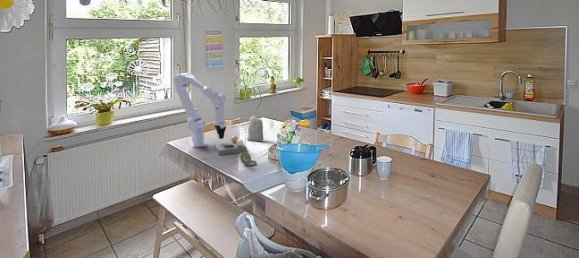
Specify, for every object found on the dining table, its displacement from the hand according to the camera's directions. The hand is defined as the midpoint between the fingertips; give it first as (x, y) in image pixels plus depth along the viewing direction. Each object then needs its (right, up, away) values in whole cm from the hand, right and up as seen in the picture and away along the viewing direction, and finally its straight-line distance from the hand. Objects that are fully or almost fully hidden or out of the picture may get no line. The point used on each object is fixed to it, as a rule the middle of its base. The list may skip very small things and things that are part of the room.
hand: (220, 137), depth 220 cm
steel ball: (0, +1, 0) cm, 1 cm away
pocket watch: (+19, -14, -28) cm, 37 cm away
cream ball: (+12, -3, -5) cm, 13 cm away
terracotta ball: (+8, -1, +3) cm, 8 cm away
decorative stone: (+19, -2, +16) cm, 25 cm away
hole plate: (+5, -7, -1) cm, 9 cm away
